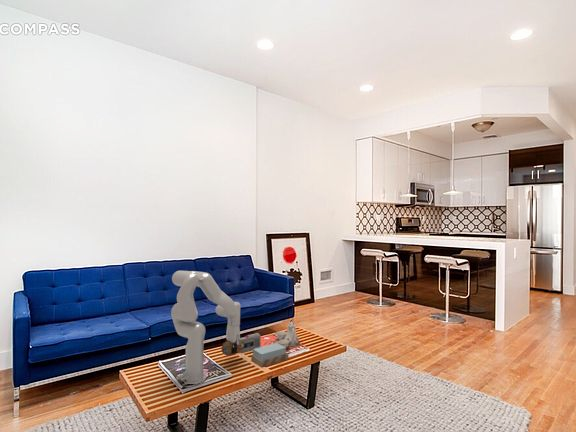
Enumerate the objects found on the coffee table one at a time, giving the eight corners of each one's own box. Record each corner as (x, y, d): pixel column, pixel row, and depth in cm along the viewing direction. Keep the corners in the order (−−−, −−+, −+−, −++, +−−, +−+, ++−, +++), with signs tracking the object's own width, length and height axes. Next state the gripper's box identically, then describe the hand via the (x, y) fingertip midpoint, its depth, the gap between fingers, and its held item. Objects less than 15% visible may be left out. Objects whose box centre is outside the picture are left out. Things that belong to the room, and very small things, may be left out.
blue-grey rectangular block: (261, 361, 204) (261, 354, 204) (253, 355, 212) (253, 349, 212) (285, 353, 215) (285, 347, 215) (276, 348, 223) (276, 342, 223)
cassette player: (240, 353, 224) (240, 338, 225) (238, 352, 227) (238, 337, 227) (260, 348, 234) (260, 333, 234) (258, 346, 236) (258, 332, 236)
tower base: (261, 368, 203) (261, 361, 203) (251, 361, 213) (251, 355, 213) (288, 360, 215) (288, 353, 215) (277, 354, 225) (277, 348, 225)
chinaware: (273, 340, 253) (271, 318, 253) (295, 336, 256) (293, 314, 256) (279, 355, 226) (276, 330, 225) (303, 350, 229) (301, 326, 228)
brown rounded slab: (222, 357, 206) (223, 342, 206) (220, 355, 208) (221, 341, 208) (244, 352, 215) (245, 338, 215) (242, 350, 217) (242, 337, 217)
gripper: (222, 320, 216) (221, 349, 216) (234, 326, 203) (233, 357, 203) (233, 318, 221) (232, 347, 220) (245, 324, 208) (244, 355, 207)
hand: (232, 352), depth 211 cm, fingers closed on brown rounded slab, 2 cm apart
